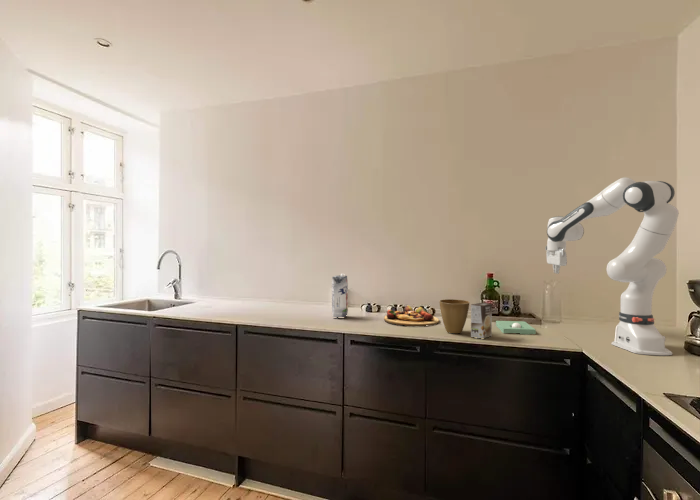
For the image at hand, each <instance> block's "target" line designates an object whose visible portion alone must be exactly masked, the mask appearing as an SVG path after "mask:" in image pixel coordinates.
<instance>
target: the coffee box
mask: <svg viewBox="0 0 700 500" xmlns="http://www.w3.org/2000/svg"><path fill="white" fill-rule="evenodd" d="M470 307H471V308H470V311H471V312H470V337H477V338H486V337H489V336H491V337H492V334H493V333H492V328H493V327H492V326H493V325H492V324H493V322H492V321H493V317H492V315H493V314H492V313H493V309H492V307H493V305H492V303H487V302H479V303H472V304H471V305H470ZM477 338H476V339H477ZM489 338H490V337H489ZM486 339H487V338H486Z"/></svg>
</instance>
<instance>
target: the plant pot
mask: <svg viewBox="0 0 700 500" xmlns="http://www.w3.org/2000/svg"><path fill="white" fill-rule="evenodd" d="M438 303H439V310H440V314H441V318H442V322H443V325H444V328H445V331H447V332H450V333H460V334H462V333H461V332H463V330H464V327H465V324H466V320H467V317H468V313H469V308H470V301H468V300H464V299H453V298H452V299H451V298H450V299H449V298H447V299H444V298H443V299H439V302H438ZM447 332H446V333H447ZM450 333H449V334H450Z"/></svg>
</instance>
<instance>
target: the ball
mask: <svg viewBox="0 0 700 500" xmlns="http://www.w3.org/2000/svg"><path fill="white" fill-rule="evenodd" d="M512 328H521V325H520V324H519V323H513V324H512Z"/></svg>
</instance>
